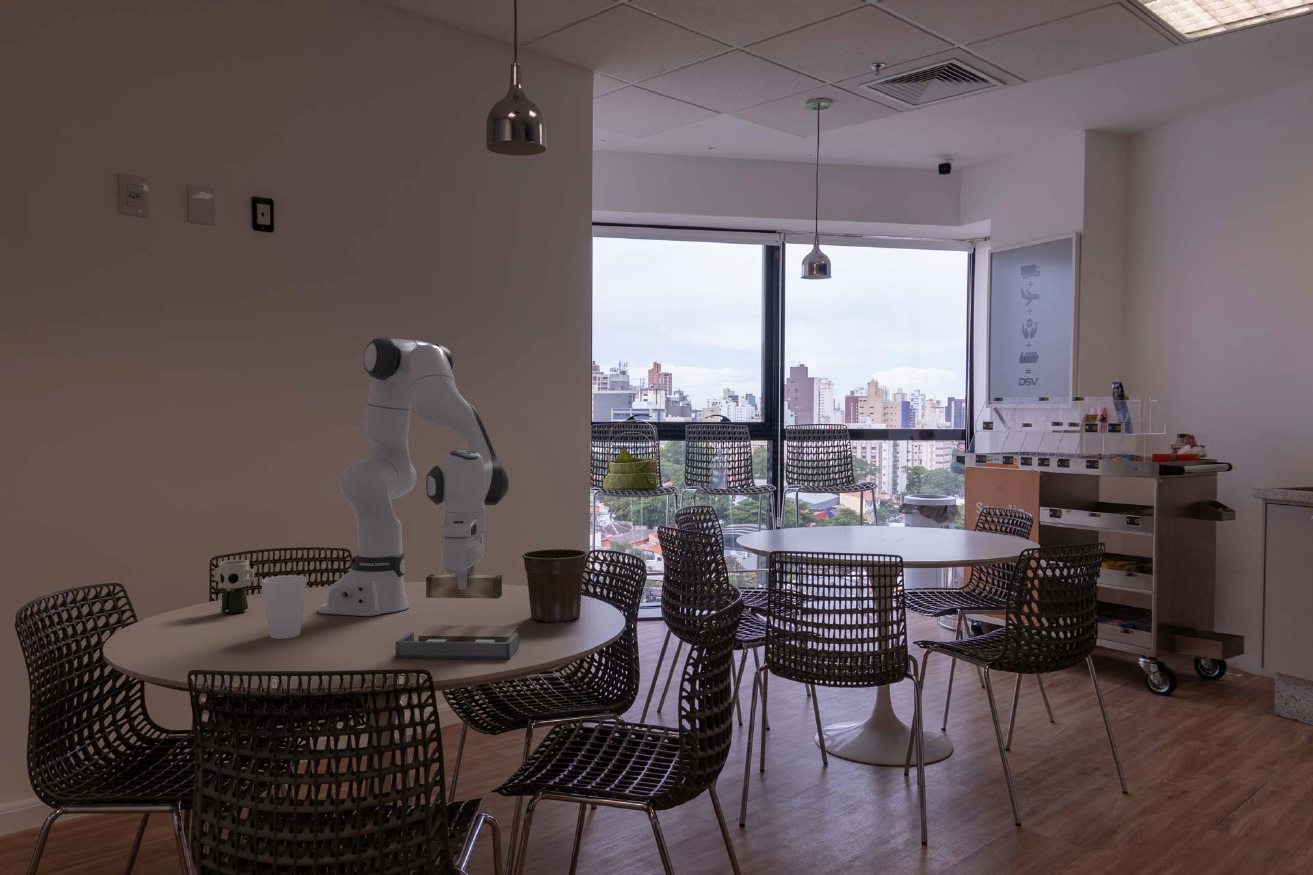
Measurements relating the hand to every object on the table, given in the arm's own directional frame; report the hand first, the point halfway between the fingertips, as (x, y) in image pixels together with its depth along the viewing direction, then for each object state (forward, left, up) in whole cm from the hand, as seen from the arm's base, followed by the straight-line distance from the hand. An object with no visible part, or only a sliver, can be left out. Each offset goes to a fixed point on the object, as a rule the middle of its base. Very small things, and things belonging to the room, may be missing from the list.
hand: (466, 586), depth 203 cm
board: (0, +2, -13) cm, 13 cm away
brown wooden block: (0, 0, -2) cm, 2 cm away
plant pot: (+15, +27, -13) cm, 34 cm away
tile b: (+5, -6, -12) cm, 15 cm away
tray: (0, -8, -13) cm, 15 cm away
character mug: (-68, +29, -13) cm, 75 cm away
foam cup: (-44, +6, -13) cm, 46 cm away
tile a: (-5, -6, -12) cm, 15 cm away
